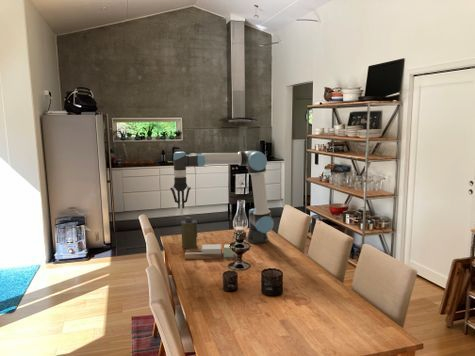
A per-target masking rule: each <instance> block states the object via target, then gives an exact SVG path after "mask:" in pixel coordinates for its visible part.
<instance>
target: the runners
mask: <svg viewBox="0 0 475 356" xmlns="http://www.w3.org/2000/svg"><path fill="white" fill-rule="evenodd" d="M191 259H193V260H196V259H197V260H201V259H203V260H204V259H223V248H221V254H202V248H196V249H195V248H189V249H187V248H185V253H184V260H191Z"/></svg>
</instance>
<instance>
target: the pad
mask: <svg viewBox="0 0 475 356" xmlns="http://www.w3.org/2000/svg"><path fill="white" fill-rule="evenodd" d="M236 254H237V253H236ZM236 254H234V257H224V252H222V259H236Z"/></svg>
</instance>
